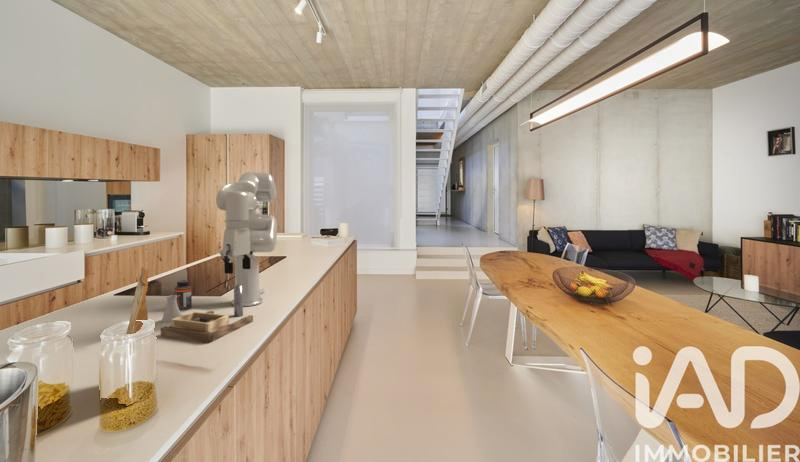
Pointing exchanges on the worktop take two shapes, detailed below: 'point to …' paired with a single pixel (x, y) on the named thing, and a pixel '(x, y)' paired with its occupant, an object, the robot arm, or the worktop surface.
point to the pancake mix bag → (139, 304)
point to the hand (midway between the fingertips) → (237, 271)
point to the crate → (201, 321)
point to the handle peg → (238, 300)
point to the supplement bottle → (183, 294)
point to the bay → (202, 335)
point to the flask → (171, 309)
